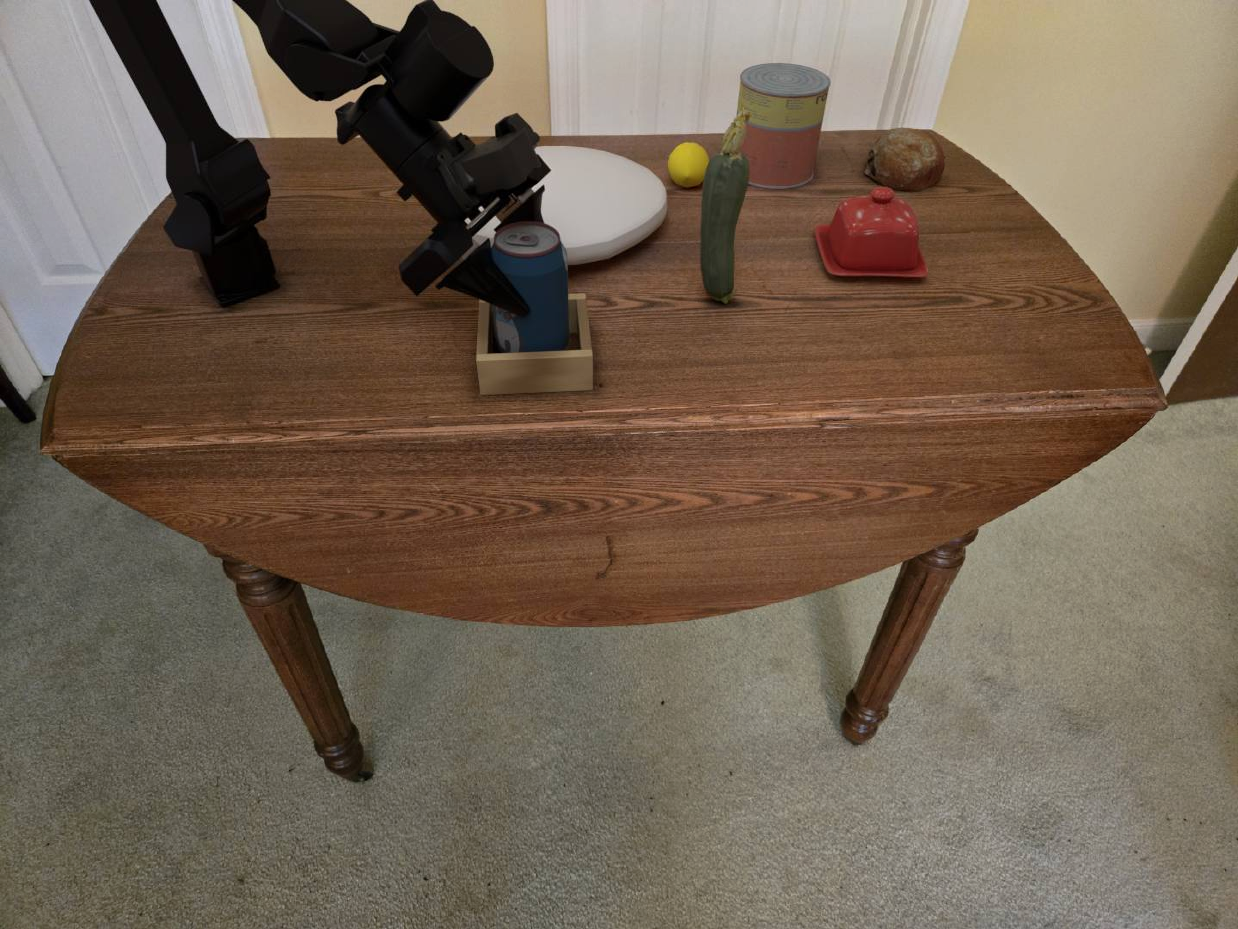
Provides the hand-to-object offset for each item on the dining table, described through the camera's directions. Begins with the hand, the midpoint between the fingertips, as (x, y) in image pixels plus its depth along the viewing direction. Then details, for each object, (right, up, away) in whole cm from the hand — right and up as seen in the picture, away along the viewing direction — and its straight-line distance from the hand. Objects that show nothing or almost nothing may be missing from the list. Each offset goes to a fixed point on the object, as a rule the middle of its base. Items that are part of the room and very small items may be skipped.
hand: (544, 294), depth 74 cm
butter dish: (+35, +8, +21) cm, 42 cm away
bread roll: (+45, +24, +37) cm, 63 cm away
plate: (-1, +14, +26) cm, 29 cm away
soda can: (-1, -5, +5) cm, 7 cm away
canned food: (+28, +24, +37) cm, 52 cm away
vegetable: (+17, +2, +14) cm, 22 cm away
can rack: (-1, -5, +6) cm, 8 cm away
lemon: (+16, +21, +34) cm, 43 cm away
